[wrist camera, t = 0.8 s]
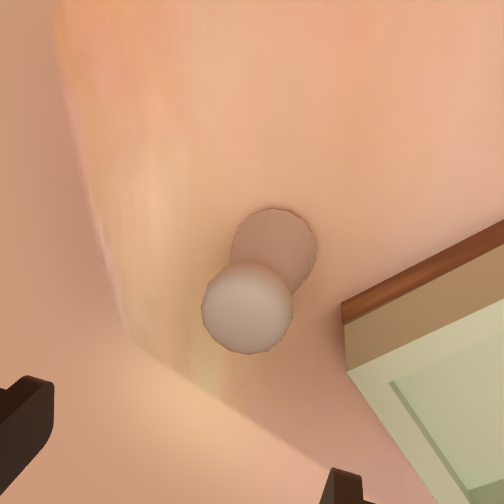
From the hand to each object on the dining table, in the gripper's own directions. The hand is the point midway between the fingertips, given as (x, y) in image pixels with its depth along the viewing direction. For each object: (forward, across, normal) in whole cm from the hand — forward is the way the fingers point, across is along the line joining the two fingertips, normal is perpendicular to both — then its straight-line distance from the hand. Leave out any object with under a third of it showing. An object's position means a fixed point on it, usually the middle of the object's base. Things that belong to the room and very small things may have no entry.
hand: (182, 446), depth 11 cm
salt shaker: (+21, 0, 0) cm, 21 cm away
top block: (+17, -15, +4) cm, 23 cm away
